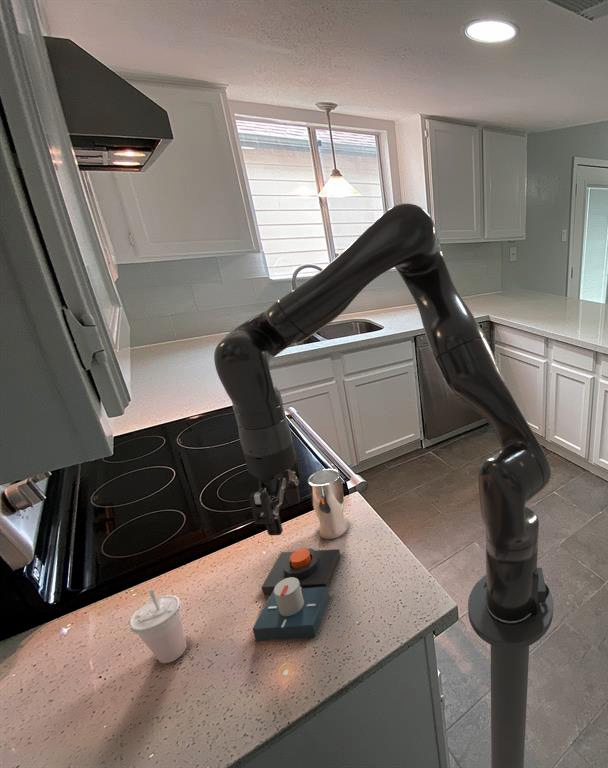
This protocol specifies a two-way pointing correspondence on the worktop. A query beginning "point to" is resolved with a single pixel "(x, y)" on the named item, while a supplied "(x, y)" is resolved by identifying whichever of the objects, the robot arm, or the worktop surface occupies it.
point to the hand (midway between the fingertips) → (285, 517)
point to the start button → (300, 558)
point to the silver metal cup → (328, 502)
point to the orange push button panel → (304, 570)
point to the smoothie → (160, 627)
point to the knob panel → (292, 617)
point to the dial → (289, 596)
